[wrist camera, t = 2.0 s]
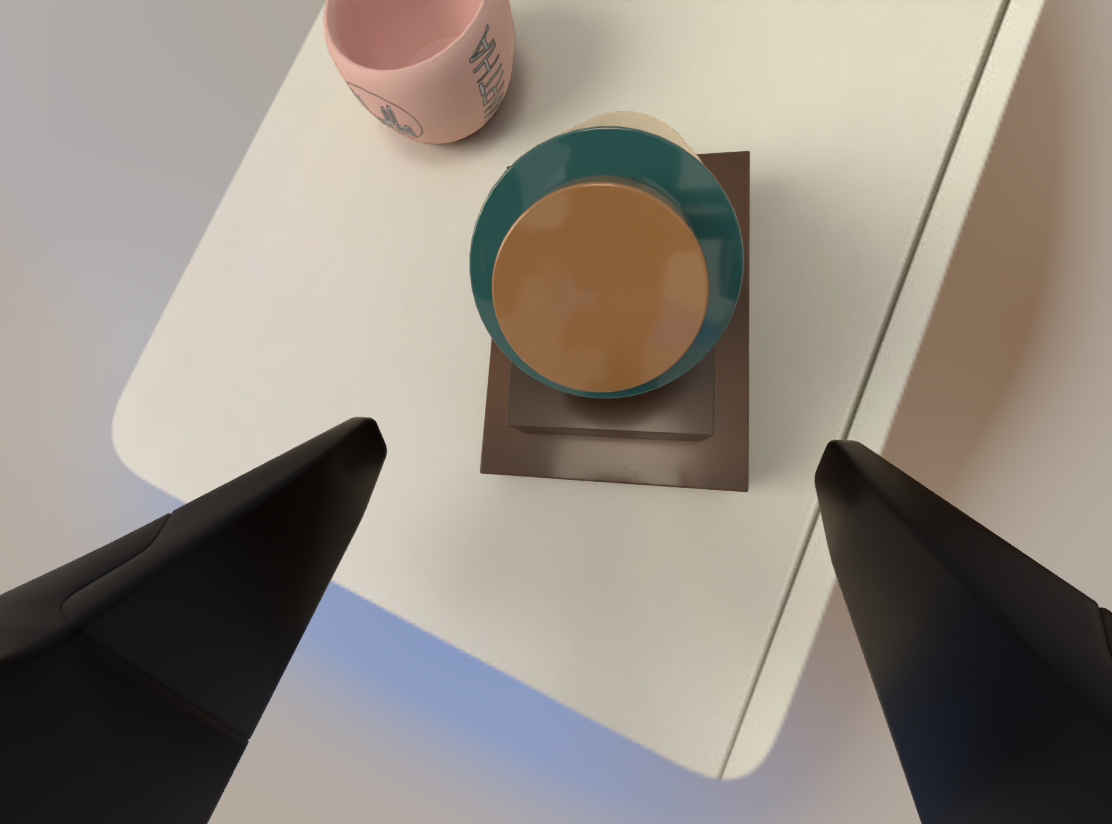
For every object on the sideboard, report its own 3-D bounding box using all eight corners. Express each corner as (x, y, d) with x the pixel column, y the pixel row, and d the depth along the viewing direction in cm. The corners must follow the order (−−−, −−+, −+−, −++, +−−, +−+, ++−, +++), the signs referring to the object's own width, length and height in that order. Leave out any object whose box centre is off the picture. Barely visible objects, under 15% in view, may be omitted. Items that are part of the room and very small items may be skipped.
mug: (558, 58, 26) (538, -61, 20) (472, 192, 26) (426, 110, 20) (411, 1, 29) (356, -119, 23) (331, 121, 28) (255, 31, 22)
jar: (689, 427, 19) (778, 359, 8) (534, 420, 20) (416, 353, 9) (694, 192, 20) (775, -153, 9) (550, 199, 21) (467, -97, 10)
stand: (731, 489, 21) (772, 496, 15) (498, 473, 23) (453, 473, 17) (734, 191, 23) (771, 94, 17) (520, 201, 25) (487, 118, 19)
